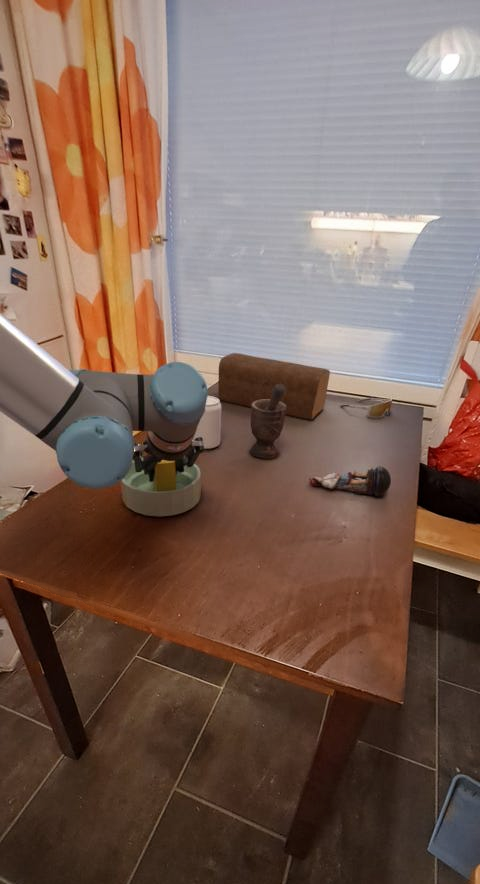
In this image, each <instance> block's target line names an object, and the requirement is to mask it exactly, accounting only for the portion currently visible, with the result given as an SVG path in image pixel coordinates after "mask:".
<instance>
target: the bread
mask: <svg viewBox="0 0 480 884" xmlns="http://www.w3.org/2000/svg"><path fill="white" fill-rule="evenodd" d="M330 374H331V371H330V369H328V368H323V367H316V366H310V365H306V364H300V363H295V362H289V361H283V360H277V359H271V358H265V357H259V356H253V355H248V354H243V353H237V352H232V353H229V354H226V355H225V356H223V357H222V358H221V359H220V360H219V363H218V381H217V383H218V384H217V385H218V393H217V394H218V395H217V398H218V399H219V400H220V401H222V402H226V403H231V404H235V405H240V406H245V407H248V408H251V405H252V403H253V402H254V401H256V400H260V399H270V398H271V394H272V391H273V388H274V387H275V385H276V384H282V385H284V387H285V393H284V395H283V397H282V399H281V401H280V402H282V403H284V404H285V405H286V413H285V416H286V415H287V416H291V417H295V418H299V419H305V420H311V421H312V420H314V418H315V417H316V416H317V415H318V414H319V413H320V412H321V411H322V410H323V409H324V408H325V404H326V400H327V392H328V386H329V381H330Z"/></svg>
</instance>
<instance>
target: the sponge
mask: <svg viewBox="0 0 480 884" xmlns="http://www.w3.org/2000/svg"><path fill="white" fill-rule="evenodd" d="M154 472H155V473H154V479H153V486H154V491H157V492H159V491H171V490H175V489H176V471H175V461H166V460H162V461H161V462H158V463H157V464H156V466H155V467H154Z"/></svg>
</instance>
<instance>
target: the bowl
mask: <svg viewBox="0 0 480 884" xmlns="http://www.w3.org/2000/svg"><path fill="white" fill-rule="evenodd" d="M141 461H143V457H142V458H141ZM201 476H202V473H201V469H200V467H199V466H198V465H197V464H196V463H194V465H193V466H192V467H187V465H186V466H184V472H182V473H179V472H177V474H176V489H175V490H171V491H159V492H157V491H154V486H153V482H150V481H149V475H145V474H144V470H142V472H136V470H135V463H134V460H132V465H131V468H130V470H129V472H128V474H127V475H126V476H125V478H124V479H122V480H121V481H120V482H119V483H120V488H121V489H120V490H121V497H122V498H121V499H122V502H123V503H124V505H125V506H126V508H128V509H129V510H131V511H133V512H134V513H137V514H140V515H143V516H149V517H150V516H151V517H160V518H161V517H171V516H175V515H179V514H182V513H185V512H187V511H189V510H191V509H193V508H194V507H196V506H197V504H198V503H199V501H200V499H201V497H202V496H201V494H202V493H201V491H202V490H201V489H202V487H201V486H202V485H201V481H202V480H201V478H202V477H201Z"/></svg>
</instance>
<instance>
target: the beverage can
mask: <svg viewBox="0 0 480 884" xmlns="http://www.w3.org/2000/svg"><path fill="white" fill-rule="evenodd" d="M221 428H222V404H221V400H219V399H218V397H216V396H213V395H207V400H206V405H205V412H204V414H203V416H202V417H201V419H200V422H199V424H198V426H197V430H196V433H195V435H194V438H193V440H195V439H196V438H198V437H202V438H203V444H204V450H210V449H211V450H212V449H214V448H217V447H218V446H220V444H221V431H222V429H221Z"/></svg>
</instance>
